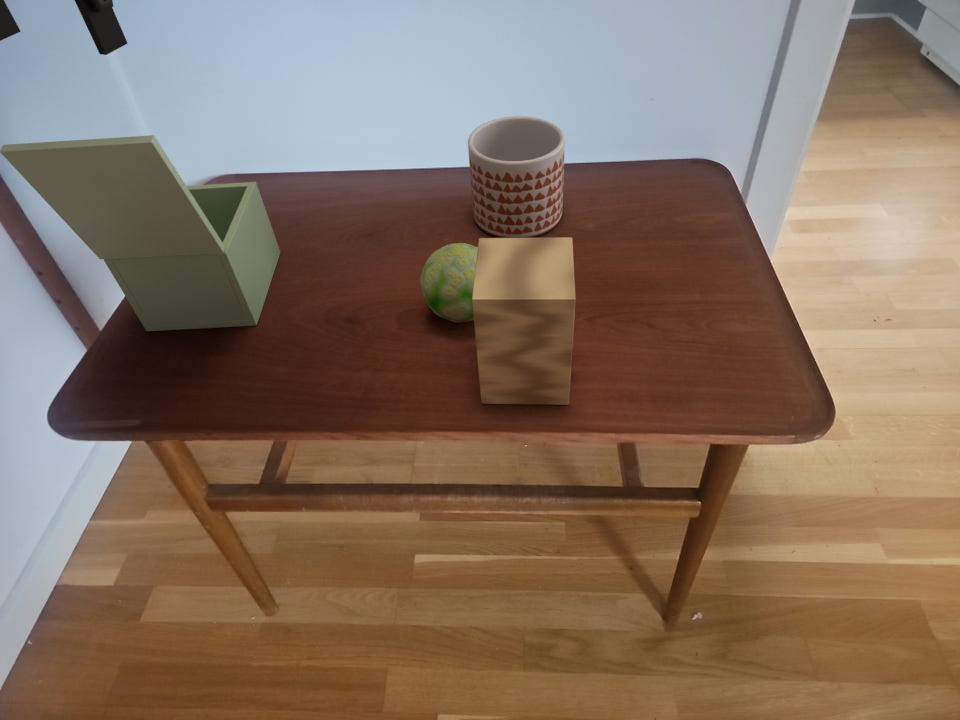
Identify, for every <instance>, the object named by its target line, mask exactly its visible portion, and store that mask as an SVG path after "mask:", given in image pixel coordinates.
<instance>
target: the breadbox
mask: <svg viewBox="0 0 960 720" xmlns="http://www.w3.org/2000/svg"><path fill="white" fill-rule="evenodd" d="M186 186H187V188H188V189H189V191H190V193H191V194H192V196H193V197H194V199H195V200H196V202H197V203H198V205H199V207H200V208H201V210H202V211H203V213H204V214H205V216H206V218H207V219H208V221H209V222H210V224H211V225H212V227H213V229H214V230H215V232H216V233H217V235H218V236H219V238H220V240H221V241H222V243H223V244H224V246H225V247H224V252H221V253H203V254H186V255H168V256H151V257H133V258H116V259H103V262H104V263H105V265H106V267H107V268H108V270H109V271H110V273H111V275H112V277H113V278H114V279H115V281H116V283H117V284H118V286H119V288H120V290H121V291H122V293H123V294H124V296H125V298H126V300H127V301H128V303H129V305H130V307H131V308H132V310H133V311H134V313H135V315H136V316H137V318H138V319H139V321H140V323H141V325H142V326H143V328H144V330H145V331H146V332H159V331H160V332H161V331H178V330H179V331H180V330H199V329H215V328H216V329H217V328H233V327H234V328H235V327H237V328H238V327H254V326H258V323H259V320H260V317H261V313H262V312H263V311H262V310H263V308H264V305H265V302H266V298H267V295H268V292H269V290H270V286H271V283H272V280H273V277H274V274H275V270H276V268H277V264H278V261H279V258H280V255H281V249H280V246H279V244H278V241H277V239H276V235H275V233H274V232H275V231H274V230H273V227H272V224H271V221H270V218H269V215H268V213H267V209H266V207H265V204H264V201H263V198H262V195H261V193H260V189H259V186H258V184H257V182H256V181H246V182H231V183H229V182H228V183H212V184H195V185H186Z"/></svg>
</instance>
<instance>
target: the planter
mask: <svg viewBox="0 0 960 720" xmlns="http://www.w3.org/2000/svg"><path fill="white" fill-rule="evenodd" d="M467 150H468V152H467V153H468V162H469V163H468V164H469V175H470V186H471V188H470V189H471V199H472V200H471V201H472V213H473V219H474V222H475V224H476V225H477V226H478V227H479V228H480V229H481V230H482V231H484V232H485V233H487V234H489V235H491V236H494V237H495V238H537V237H538V236H541V235H544V234H546V233H549V232H550V231H551V230H553V229H554V228H555V227H556V226H557V225H558V224H559V222H560V221H561V219H562V216H563V207H564V206H563V205H564V204H563V202H564V179H565V155H566V154H565V153H566V152H565V151H566V136H565V134H564V132H563V130H562V129H561V128H560V127H559V126H558V125H557V124H555V123H554V122H551V121H549V120H546V119H543V118H540V117H534V116H524V115H517V116H506V117H500V118H496V119H493V120H489V121H486V122H484V123H482V124H480V125H479V126H477V127H476V128H475V129H473V130H472V132H471V133H470V134H469V136H468V139H467Z"/></svg>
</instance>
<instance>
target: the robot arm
mask: <svg viewBox="0 0 960 720" xmlns="http://www.w3.org/2000/svg"><path fill="white" fill-rule="evenodd" d="M74 2H75V5H76V7H77V9H78V11H79V13H80V15H81V17H82V20H83V23H84V24H85V25H86V28H87V30H88V32H89V35H90V36H91V38H92V41H93V43H94V45H95V47H96V49H97V51H98V54H99V55H101V56H102V55H103V56H107V55H109V54H111V53H113V52H115V51H116V50H118V49H120V48H122V47H124V46H126V45H128V40H127V39H126V36H125V34H124V31H123V29H122V27H121V24H120V22H119V20H118V18H117V15H116V13H115V11H114V1H113V0H74ZM19 33H21V29H20V27H19V25H18V23H17V21H16V20H15V18H14V16H13V14H12V12H11V11H10V9H9V6H8V5H7V3H6V1H5V0H0V42H1V41H3V40H6V39H8V38H9V37H12V36H14V35H16V34H19Z"/></svg>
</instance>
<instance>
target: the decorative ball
mask: <svg viewBox="0 0 960 720" xmlns="http://www.w3.org/2000/svg"><path fill="white" fill-rule="evenodd" d="M477 251H478V246H474V245H473V244H470V243H466V242H458V243H455V242H454V243H449V244H446V245H444V246H442V247H440V248H438V249H436V250H435V251H433V253H431V255H430V256H429V257H428V258H427V260H426V261H425V264H424V267H423V268H422V270H421V275H420V280H419V281H420V289H421V293H422V296H423V298H424V300H425V302H426V305H427V306H428V308H429V309H431V311H432V313H434V314H435V315H436V316H438V317H440V318H442V319H446V320H448V321H450V322H453V323H464V322H465V323H466V322H472V321H474V315H473V304H472V296H473V287H474V278H475V269H476V260H477Z"/></svg>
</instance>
